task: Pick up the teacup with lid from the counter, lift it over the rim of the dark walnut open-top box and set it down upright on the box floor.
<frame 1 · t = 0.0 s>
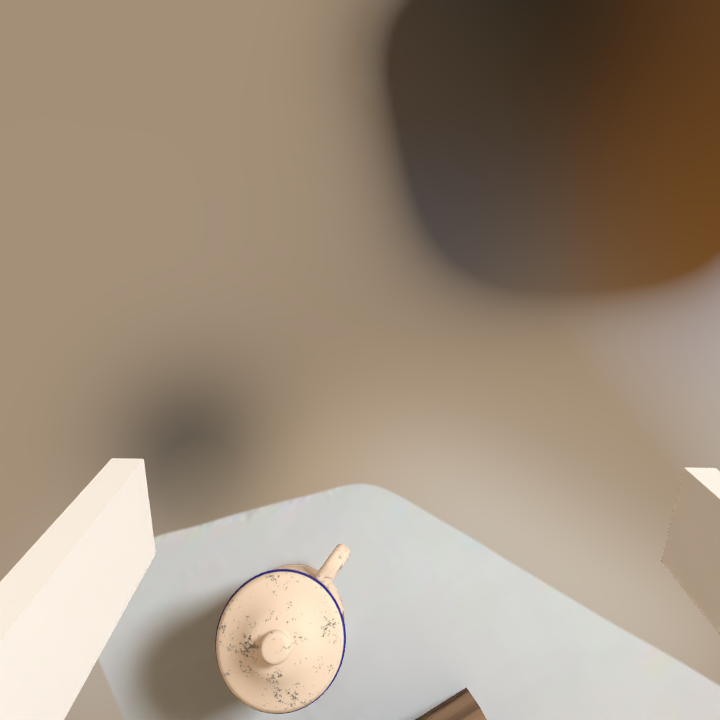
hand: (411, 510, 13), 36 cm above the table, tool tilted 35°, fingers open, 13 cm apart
teacup with lid: (304, 602, 45), on the table
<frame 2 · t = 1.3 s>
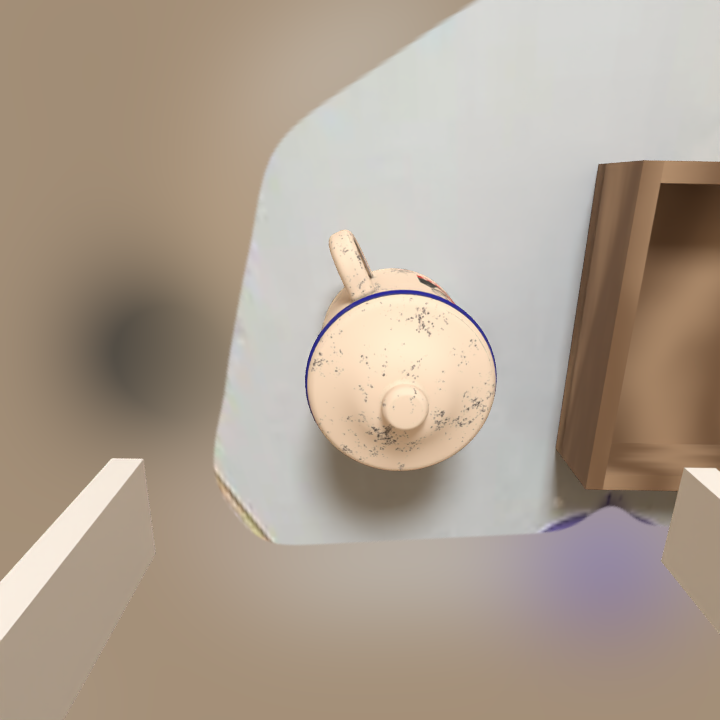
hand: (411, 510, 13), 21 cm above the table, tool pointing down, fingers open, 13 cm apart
teacup with lid: (381, 314, 33), on the table
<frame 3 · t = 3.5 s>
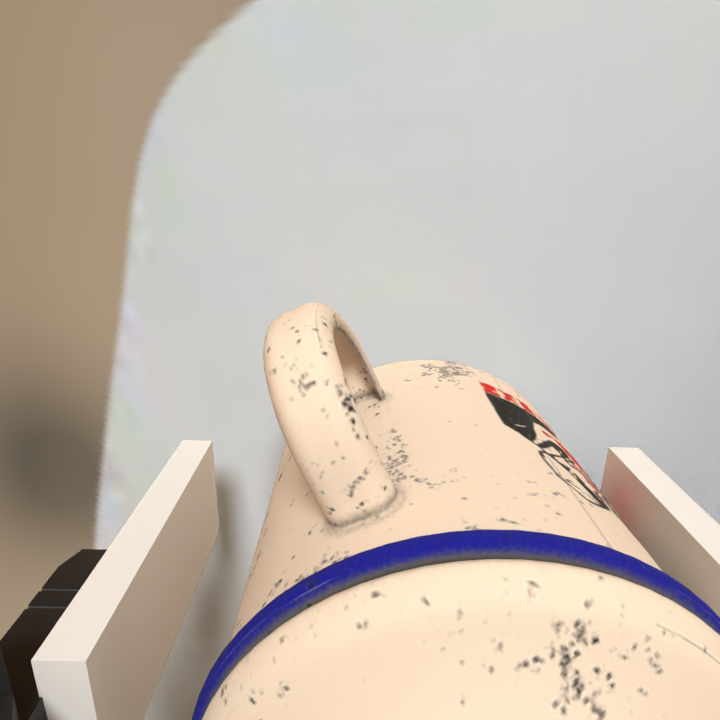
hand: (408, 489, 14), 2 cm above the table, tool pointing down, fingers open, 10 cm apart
teacup with lid: (399, 444, 16), on the table, touching gripper
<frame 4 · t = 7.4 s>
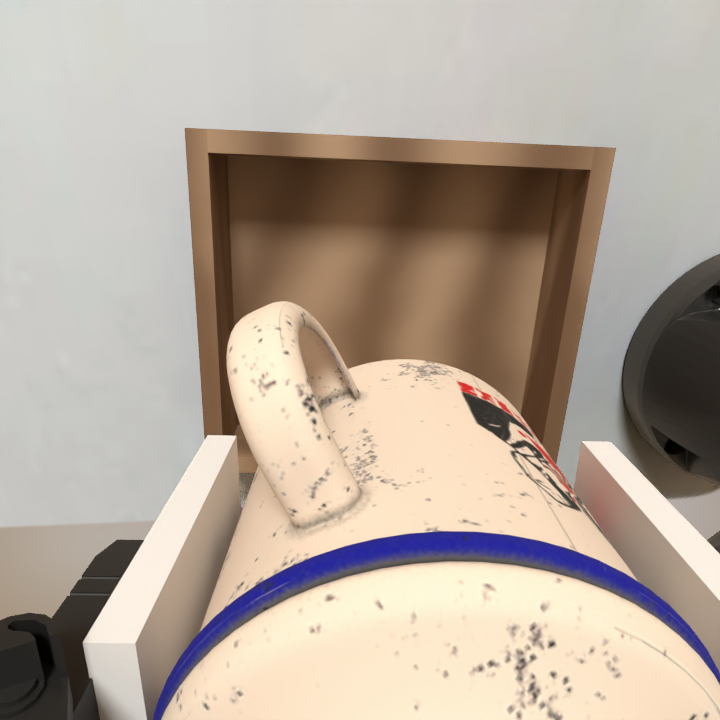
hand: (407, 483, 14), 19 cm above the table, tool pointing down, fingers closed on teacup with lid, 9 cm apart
teacup with lid: (379, 444, 16), point 17 cm above the table, touching gripper
walnut box: (385, 303, 32), on the table
when the fingers open (5 cm above the table, at t = 10.7 s): teacup with lid drops 2 cm, resting on walnut box.
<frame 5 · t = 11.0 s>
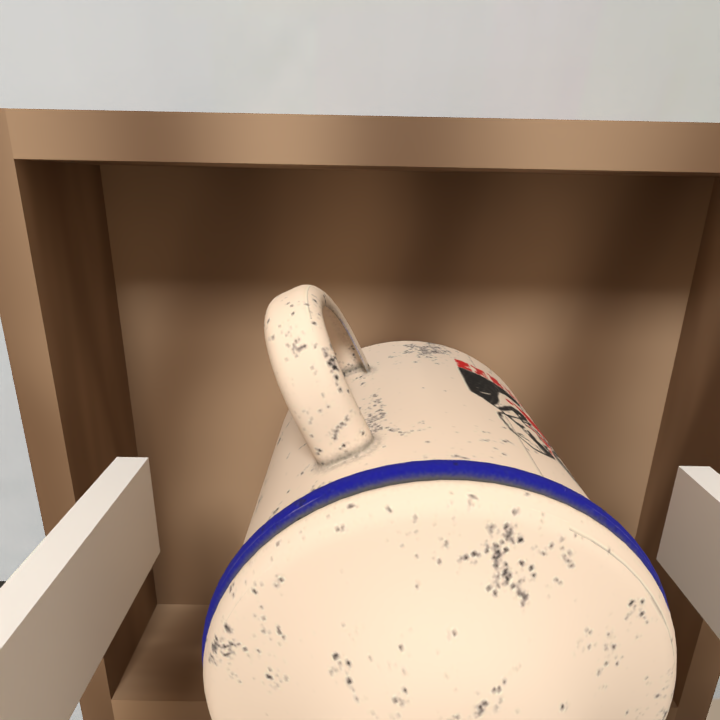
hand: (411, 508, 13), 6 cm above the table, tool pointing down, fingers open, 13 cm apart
teacup with lid: (386, 418, 18), point 1 cm above the table, touching walnut box
walnut box: (395, 408, 19), on the table
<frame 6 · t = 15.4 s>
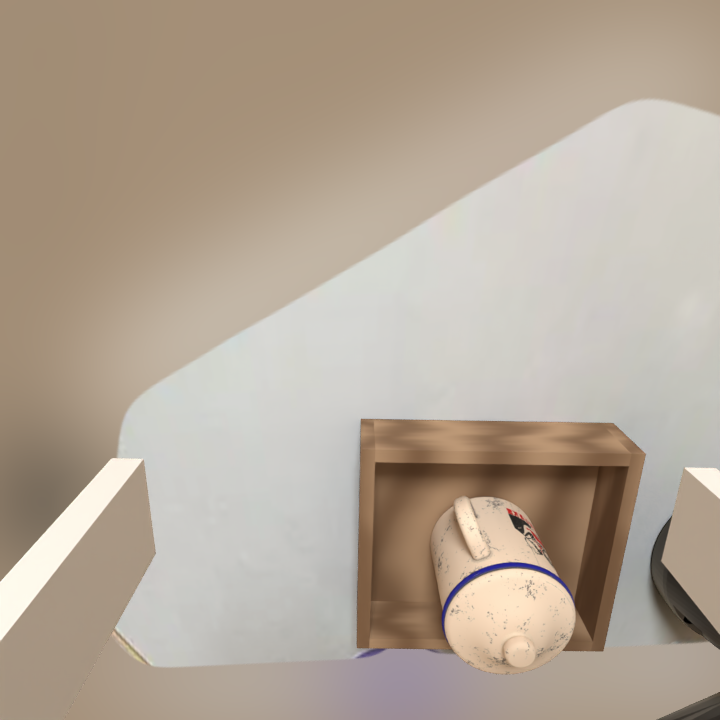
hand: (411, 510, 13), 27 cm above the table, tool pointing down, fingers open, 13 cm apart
teacup with lid: (474, 523, 44), point 1 cm above the table, touching walnut box
walnut box: (477, 517, 44), on the table
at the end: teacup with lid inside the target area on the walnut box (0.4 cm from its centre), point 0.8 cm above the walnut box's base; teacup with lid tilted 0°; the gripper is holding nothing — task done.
